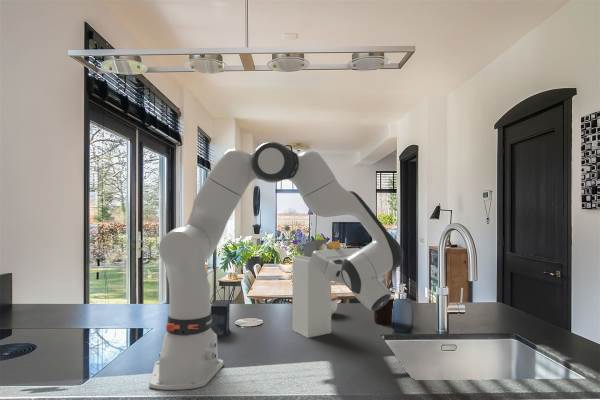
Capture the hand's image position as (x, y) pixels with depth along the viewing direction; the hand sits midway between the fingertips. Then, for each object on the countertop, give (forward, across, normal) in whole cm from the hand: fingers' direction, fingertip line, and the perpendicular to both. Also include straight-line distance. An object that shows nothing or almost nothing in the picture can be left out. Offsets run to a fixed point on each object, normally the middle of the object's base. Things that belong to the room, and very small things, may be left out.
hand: (327, 245), depth 137 cm
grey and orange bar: (+1, 0, +4) cm, 5 cm away
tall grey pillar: (-7, 0, +32) cm, 33 cm away
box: (+6, +28, +40) cm, 50 cm away
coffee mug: (-12, -31, +30) cm, 45 cm away
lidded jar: (+7, -18, +41) cm, 45 cm away
